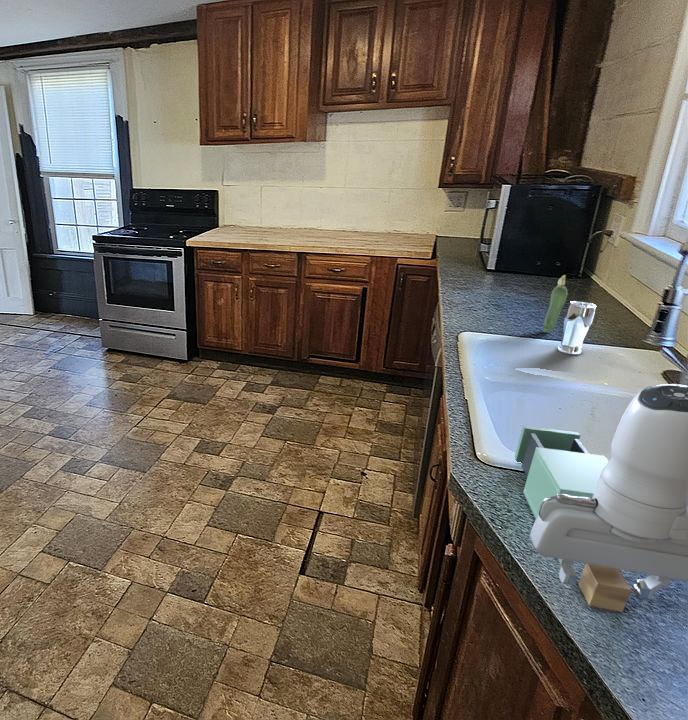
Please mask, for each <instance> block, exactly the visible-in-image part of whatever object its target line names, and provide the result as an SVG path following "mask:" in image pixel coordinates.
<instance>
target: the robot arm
mask: <svg viewBox="0 0 688 720" xmlns="http://www.w3.org/2000/svg"><path fill="white" fill-rule="evenodd" d="M608 460H609V462H608V464H607V465H606V466H605V467H604V468H603V470H602V472H601V475H600V478H599V480H598V483H597V486H596V489H595V492H594V494H593V497H592V498H586V497H574V496H569V495H566V494H557V495H556V496H551V497H548V498H545V499H544V500H543V501H542V503H541V506H540V509H539V515H538V517H537V519H536V518H535V521H534V523H533V525H532V528H531V529H530V532H529V533H530V534H529V536H530V537H529V538H530V541H531V543H532V545H533V547H534V549H535V550H536V552H537V553H538V554H539V555H540V556H542V557H545V558H550V559H551V558H552V559H557V560H558V562H559V564H560V569H559V572H558V577H559V580H560V582H561V583H562V584H567V585H572V586H575V585H576V581H578V575H577V573H576V570H575V568H574V567H573V565H574V563H581V564H585V565H586V564H591V565H597V566H603V567H608V568H614V569H619V570H620V571H626V572H631V573H638V574H643V575H647V576H646V577H644V578H643V579H640V578H636V579H635V581H634V584H633V586H632V591H633V593H635V595H636V597H637V598H642V599H647V600H651V599H653V596H654V594H655V592H656V591H657V592H658V590H660V589H663V588H664V587H666V586H668V585H670V584H671V581H672V580H675V581H681V582H682V581H683V582H688V385H683V384H677V383H663V384H655V385H649V386H646V387H644V388H642V389H641V390H639V392H638V393H637V394H636V395H635V396H634V397H633V398H632V400H630V402H629V403H628V405H627V407H626V408H625V410H624V412H623V414H622V416H621V418H620V421H619V423H618V425H617V427H616V430H615V433H614V435H613V438H612V440H611V445H610V459H608ZM554 499H556V500H554Z"/></svg>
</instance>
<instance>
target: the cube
mask: <svg viewBox="0 0 688 720" xmlns="http://www.w3.org/2000/svg"><path fill="white" fill-rule="evenodd" d="M578 586H579V589H580V590H581V593H582V594H583V597H584V598H585V600H586V603H587V605H588V606H589V607H594V608H599V609H603V610H607V611H614V612H619V613H623V612H624V609H625V607H626V604H627V602H628V599H629V598H630V595H631V593H632V588H631V587H630V585H629V582H628V581H627V580H626V578H625V577H624V575H623V573H622V572H621V570H620V569H614V568H608V567H603V566H597V565H591V564H585V565H584V567H583V570H582V573H581V576H580V579H579V582H578Z"/></svg>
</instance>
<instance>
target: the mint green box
mask: <svg viewBox="0 0 688 720" xmlns="http://www.w3.org/2000/svg"><path fill="white" fill-rule="evenodd" d="M609 460H610V459H608V458H607V456H605V455H600V454H593V453H589V454H586V453H578V452H570V451H563V450H555V449H547V448H540V447H536V449H535V453H534V456H533V460H532V463H531V467H530V470H529V474H528V477H527V476H526V481H525V485H524V487H523V490H522V491H523V492H522V494H523V495H524V497H525V499H526V502H527V503H528V506H529V508H530V510H531V512H532V514H533V516H534V518H535V520H536V519H537V517H538V515H539V509H540V506H541V503H542V501H543V500H544V499H545V498H548V497H551V496H556V495H557V494H566V495H569V496H574V497H586V498H592V497H593V494H594V492H595V489H596V486H597V483H598V480H599V478H600V475H601V472H602V470H603V468H604V467H605V466H606V465H607V464H608V462H609ZM554 500H556V499H554Z"/></svg>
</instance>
